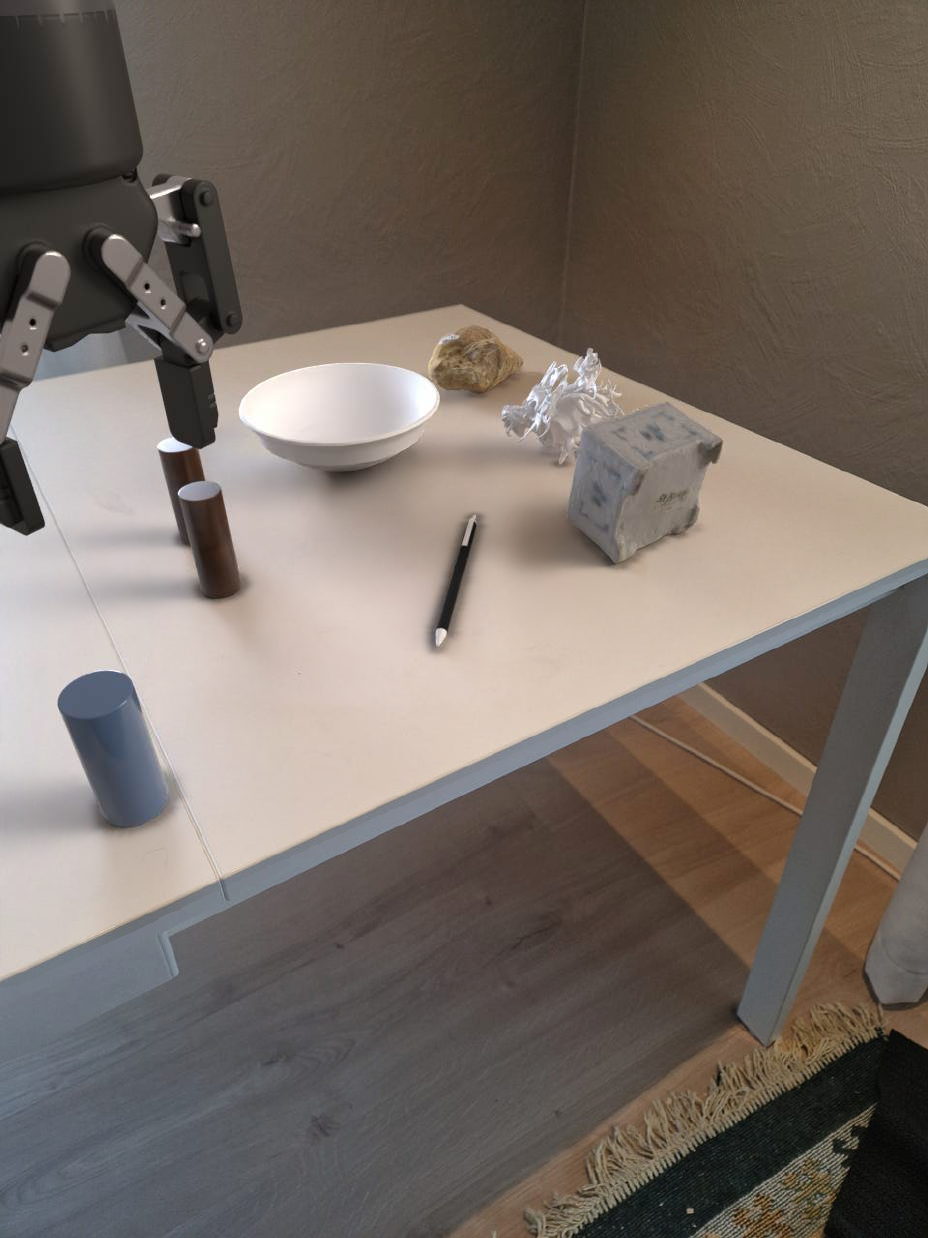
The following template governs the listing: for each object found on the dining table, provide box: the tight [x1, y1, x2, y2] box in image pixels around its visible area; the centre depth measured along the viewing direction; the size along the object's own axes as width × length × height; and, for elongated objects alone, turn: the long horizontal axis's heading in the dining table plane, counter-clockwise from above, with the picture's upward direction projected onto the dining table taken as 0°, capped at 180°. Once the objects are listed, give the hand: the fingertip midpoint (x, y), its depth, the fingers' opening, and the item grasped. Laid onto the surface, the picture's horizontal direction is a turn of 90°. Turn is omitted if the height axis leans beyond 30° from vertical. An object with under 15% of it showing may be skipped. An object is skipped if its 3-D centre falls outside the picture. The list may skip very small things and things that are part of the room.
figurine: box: [500, 347, 649, 466], centre depth 87 cm, size 13×15×12 cm
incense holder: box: [566, 401, 724, 564], centre depth 74 cm, size 10×8×10 cm
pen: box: [435, 514, 478, 648], centre depth 72 cm, size 1×19×1 cm, turn 172°
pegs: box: [157, 436, 242, 599], centre depth 72 cm, size 3×12×9 cm, turn 25°
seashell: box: [427, 324, 524, 394], centre depth 102 cm, size 14×8×8 cm
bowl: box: [238, 362, 441, 473], centre depth 88 cm, size 20×20×6 cm
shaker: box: [56, 669, 170, 828], centre depth 50 cm, size 4×4×9 cm
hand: (114, 481), depth 36 cm, fingers open, 8 cm apart
